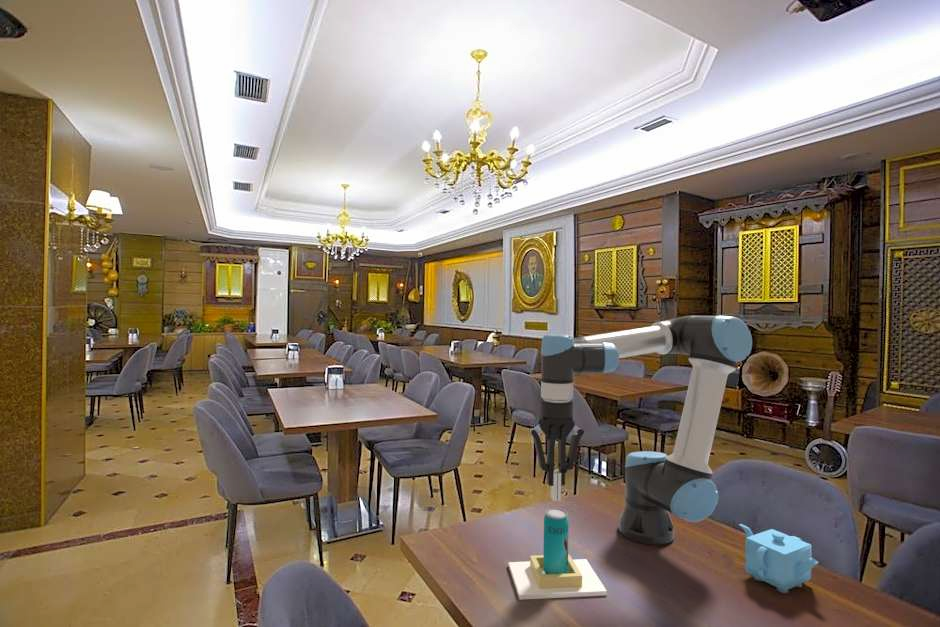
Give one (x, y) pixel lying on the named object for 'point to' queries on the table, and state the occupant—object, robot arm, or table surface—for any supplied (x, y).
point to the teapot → (778, 559)
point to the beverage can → (555, 542)
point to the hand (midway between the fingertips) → (555, 498)
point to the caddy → (555, 580)
